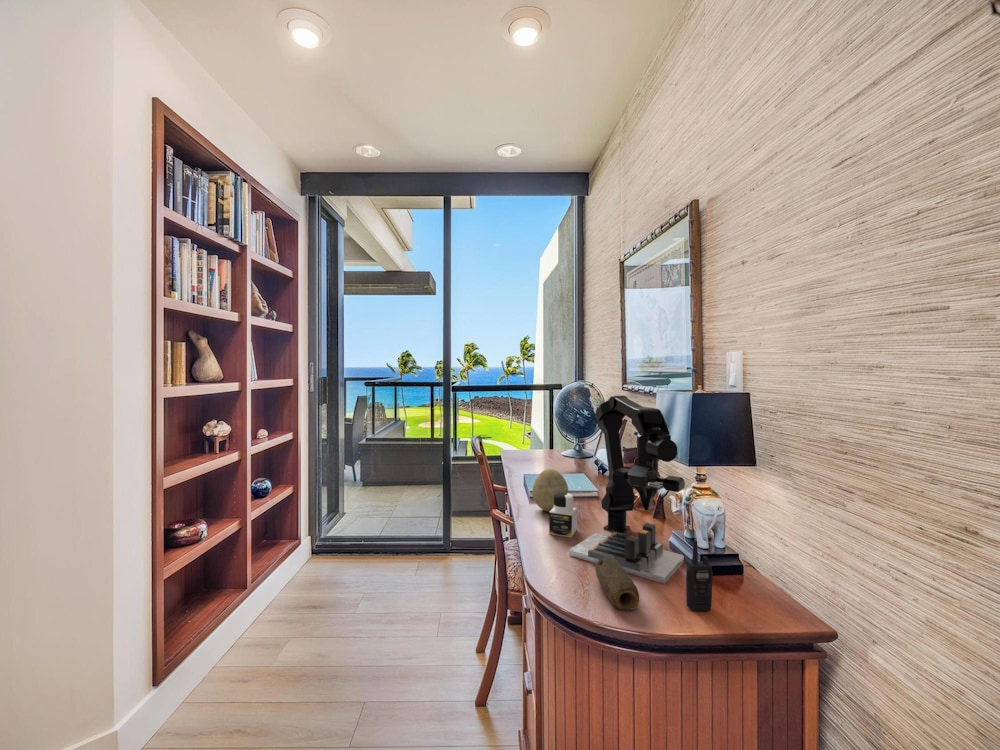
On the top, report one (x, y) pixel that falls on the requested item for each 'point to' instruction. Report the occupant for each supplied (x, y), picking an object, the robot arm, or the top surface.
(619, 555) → the breaker panel
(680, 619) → the top surface
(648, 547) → the block
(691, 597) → the two-way radio
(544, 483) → the fossilized egg
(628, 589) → the stone weight
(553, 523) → the medicine bottle
